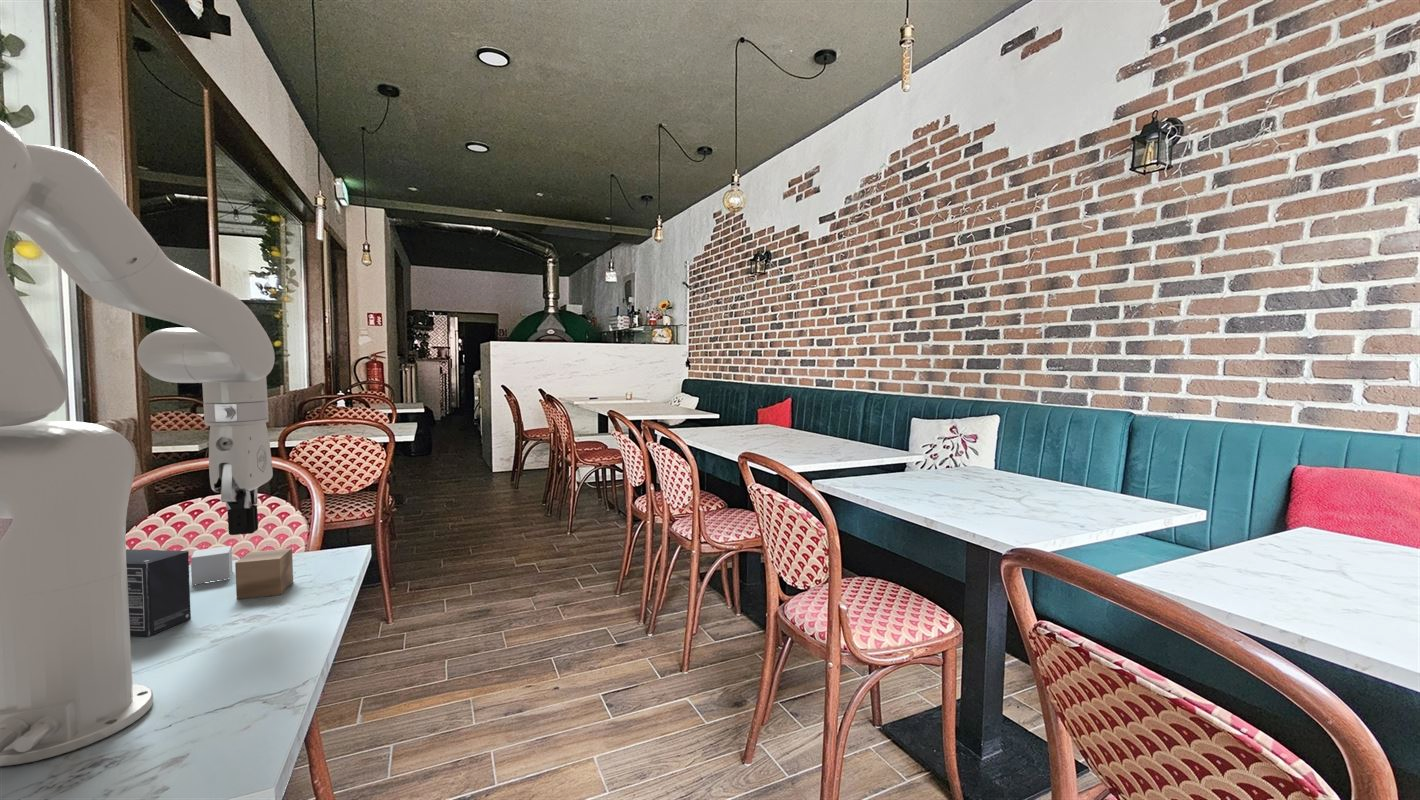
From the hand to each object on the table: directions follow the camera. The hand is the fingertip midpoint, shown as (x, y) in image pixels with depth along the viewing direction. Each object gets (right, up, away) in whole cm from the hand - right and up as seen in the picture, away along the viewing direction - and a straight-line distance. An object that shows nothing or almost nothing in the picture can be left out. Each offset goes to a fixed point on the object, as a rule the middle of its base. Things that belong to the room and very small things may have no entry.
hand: (243, 532), depth 89 cm
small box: (-11, -13, -5) cm, 17 cm away
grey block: (-17, -12, +14) cm, 25 cm away
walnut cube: (-3, -12, +8) cm, 15 cm away
